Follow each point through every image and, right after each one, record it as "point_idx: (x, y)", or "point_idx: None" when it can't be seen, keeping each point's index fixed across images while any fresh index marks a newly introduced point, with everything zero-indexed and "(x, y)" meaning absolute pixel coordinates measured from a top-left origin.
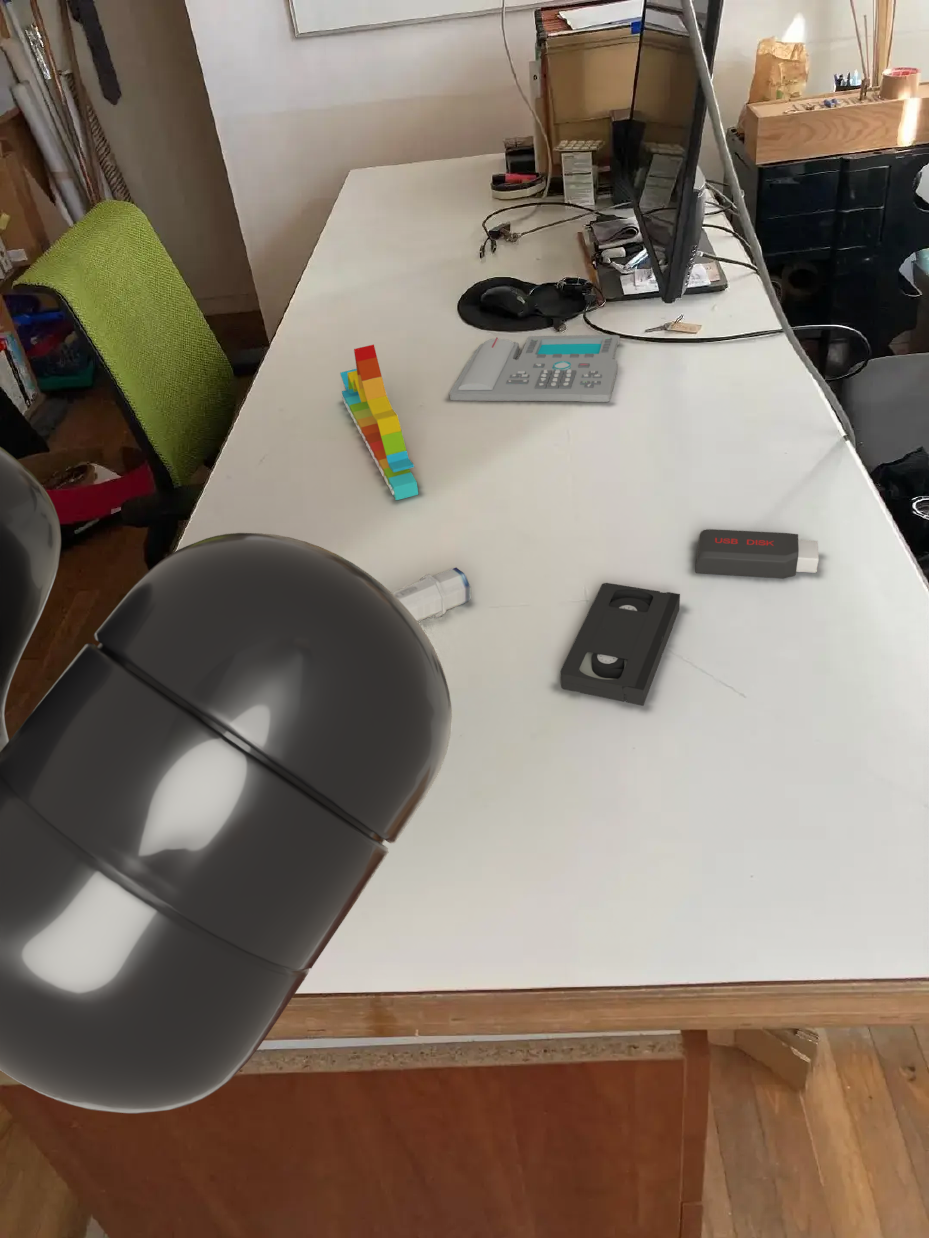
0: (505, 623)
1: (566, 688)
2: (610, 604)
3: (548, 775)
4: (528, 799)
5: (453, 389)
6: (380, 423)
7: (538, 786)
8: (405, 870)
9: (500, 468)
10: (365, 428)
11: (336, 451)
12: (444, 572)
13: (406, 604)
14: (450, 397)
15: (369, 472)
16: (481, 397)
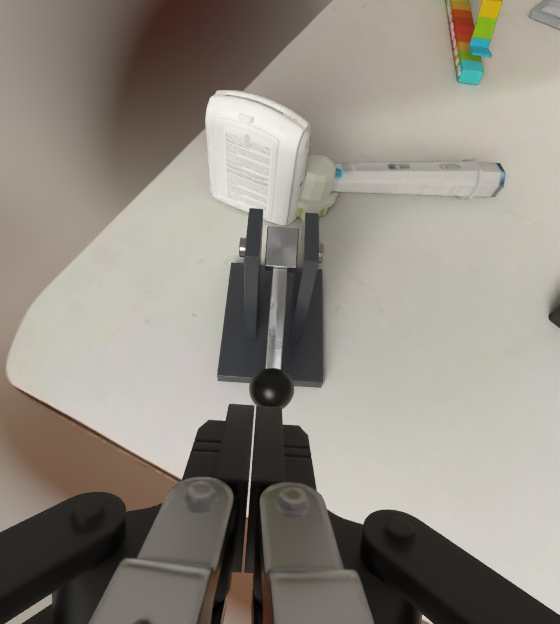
0: (515, 232)
1: (553, 321)
2: None
3: (510, 400)
4: (485, 415)
5: (536, 8)
6: (484, 3)
7: (498, 406)
8: (353, 428)
9: (553, 91)
10: (456, 10)
11: (423, 22)
12: (488, 163)
13: (446, 178)
14: (530, 14)
15: (444, 49)
16: (556, 24)
